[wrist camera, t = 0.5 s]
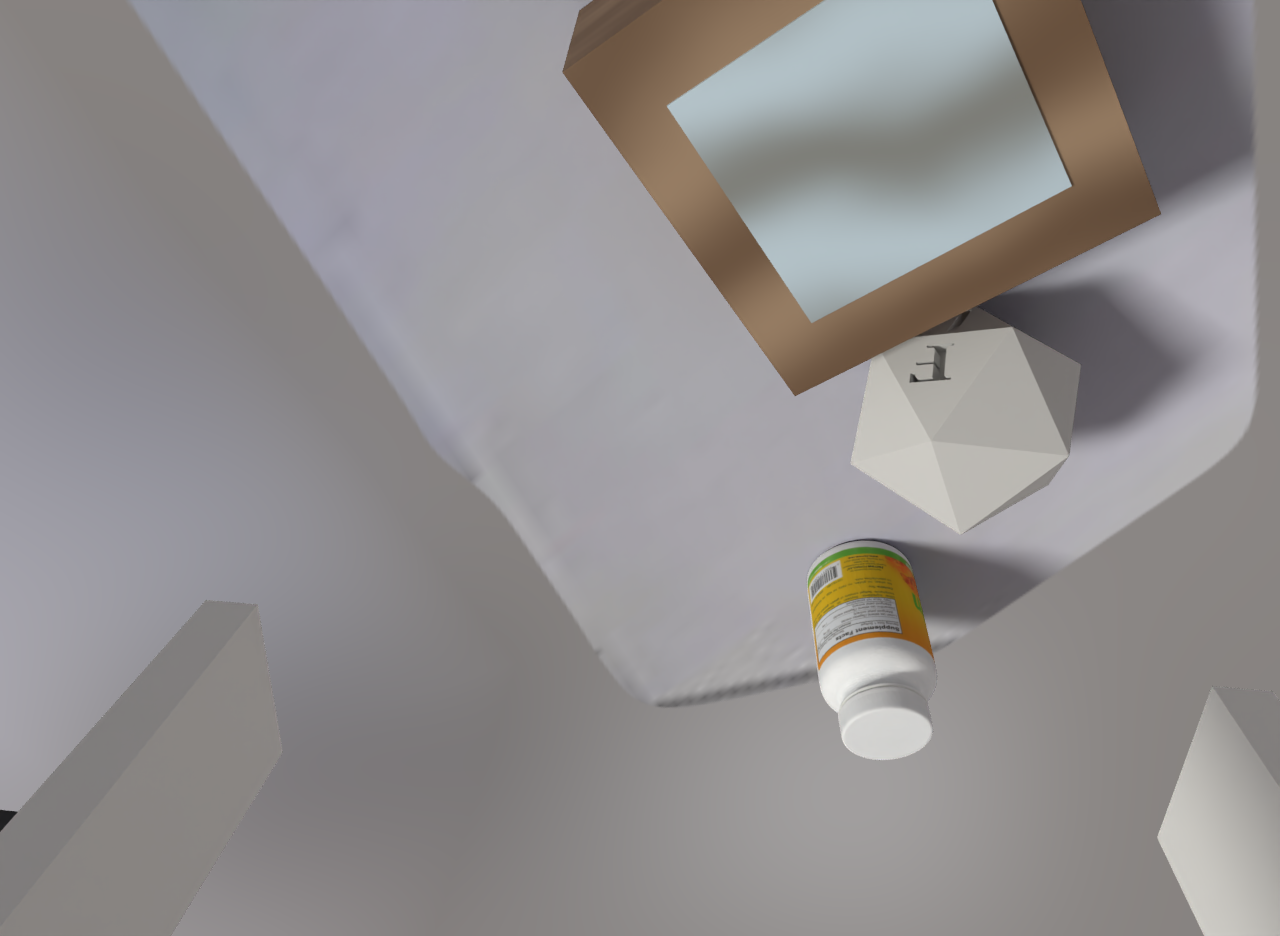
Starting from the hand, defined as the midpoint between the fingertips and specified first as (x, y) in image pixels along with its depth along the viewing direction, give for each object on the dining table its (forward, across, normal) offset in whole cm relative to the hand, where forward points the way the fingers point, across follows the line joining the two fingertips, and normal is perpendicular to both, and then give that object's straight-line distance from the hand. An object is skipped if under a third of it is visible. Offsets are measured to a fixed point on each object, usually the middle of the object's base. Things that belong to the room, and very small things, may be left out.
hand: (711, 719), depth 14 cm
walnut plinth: (+26, +3, +7) cm, 27 cm away
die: (+30, +9, -5) cm, 32 cm away
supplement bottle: (+33, +8, -18) cm, 38 cm away
